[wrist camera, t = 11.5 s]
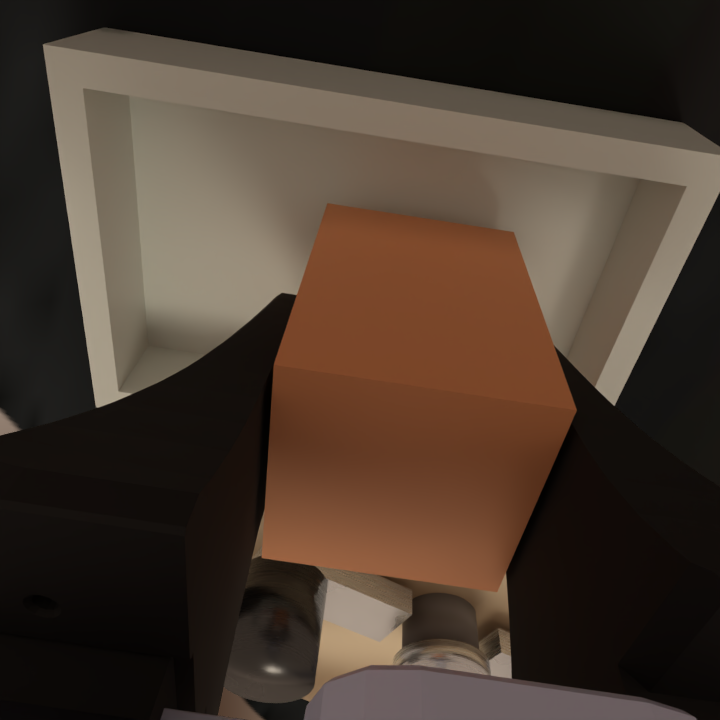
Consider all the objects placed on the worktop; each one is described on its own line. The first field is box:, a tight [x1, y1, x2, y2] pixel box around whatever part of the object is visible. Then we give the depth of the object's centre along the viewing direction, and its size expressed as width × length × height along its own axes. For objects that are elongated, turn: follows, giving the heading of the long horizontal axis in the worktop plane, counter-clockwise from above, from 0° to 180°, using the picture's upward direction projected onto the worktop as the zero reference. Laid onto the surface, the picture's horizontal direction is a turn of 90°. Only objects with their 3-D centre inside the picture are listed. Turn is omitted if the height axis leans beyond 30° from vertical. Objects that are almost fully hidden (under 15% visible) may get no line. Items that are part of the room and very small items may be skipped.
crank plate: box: [252, 510, 510, 702], centre depth 21 cm, size 17×17×2 cm
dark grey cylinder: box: [224, 546, 512, 703], centre depth 20 cm, size 14×3×4 cm, turn 59°
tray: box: [43, 27, 720, 407], centre depth 14 cm, size 8×12×2 cm, turn 82°
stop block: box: [262, 203, 577, 592], centre depth 11 cm, size 4×4×6 cm
